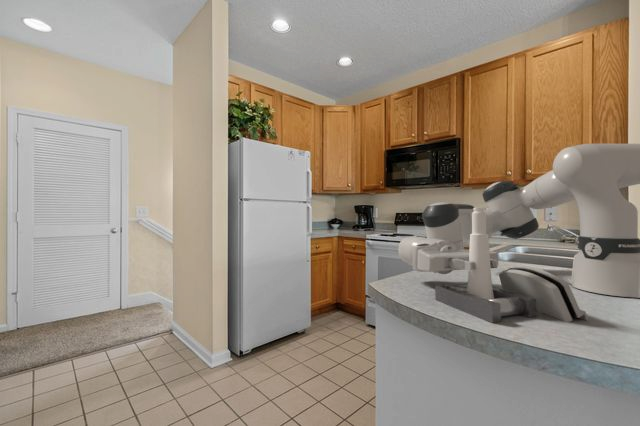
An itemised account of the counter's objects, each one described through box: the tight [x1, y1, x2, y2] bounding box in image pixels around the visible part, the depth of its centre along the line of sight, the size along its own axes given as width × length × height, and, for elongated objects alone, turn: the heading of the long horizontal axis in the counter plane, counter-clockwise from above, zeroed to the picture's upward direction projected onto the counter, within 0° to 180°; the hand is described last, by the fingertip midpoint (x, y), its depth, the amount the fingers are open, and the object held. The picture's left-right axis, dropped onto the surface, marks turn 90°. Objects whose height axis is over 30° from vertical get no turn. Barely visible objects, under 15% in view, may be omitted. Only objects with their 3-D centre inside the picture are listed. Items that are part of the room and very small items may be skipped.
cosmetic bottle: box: [467, 207, 494, 300], centre depth 67 cm, size 6×6×22 cm
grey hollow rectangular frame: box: [434, 281, 537, 324], centre depth 66 cm, size 12×16×4 cm
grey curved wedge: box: [498, 266, 589, 323], centre depth 65 cm, size 17×5×10 cm, turn 7°
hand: (484, 265), depth 65 cm, fingers open, 5 cm apart
